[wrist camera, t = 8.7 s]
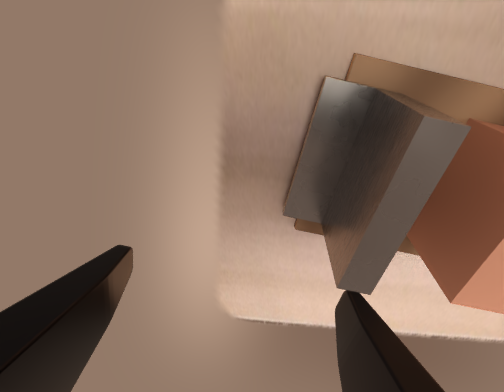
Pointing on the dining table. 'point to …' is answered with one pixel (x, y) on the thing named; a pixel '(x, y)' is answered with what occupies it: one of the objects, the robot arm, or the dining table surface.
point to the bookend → (369, 174)
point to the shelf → (424, 102)
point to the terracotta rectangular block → (467, 222)
